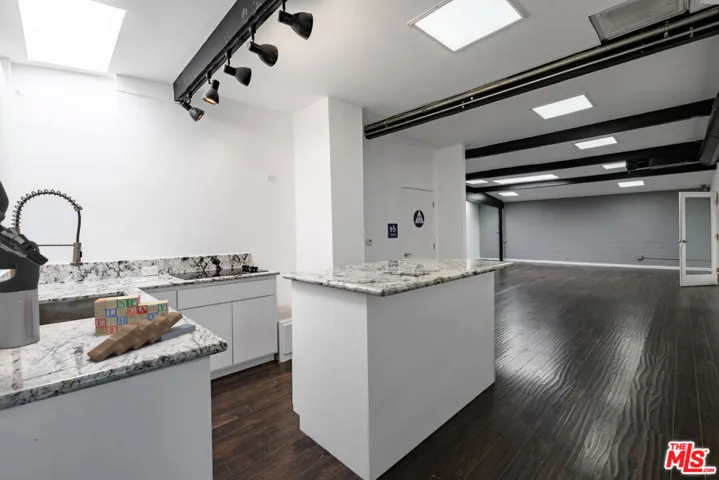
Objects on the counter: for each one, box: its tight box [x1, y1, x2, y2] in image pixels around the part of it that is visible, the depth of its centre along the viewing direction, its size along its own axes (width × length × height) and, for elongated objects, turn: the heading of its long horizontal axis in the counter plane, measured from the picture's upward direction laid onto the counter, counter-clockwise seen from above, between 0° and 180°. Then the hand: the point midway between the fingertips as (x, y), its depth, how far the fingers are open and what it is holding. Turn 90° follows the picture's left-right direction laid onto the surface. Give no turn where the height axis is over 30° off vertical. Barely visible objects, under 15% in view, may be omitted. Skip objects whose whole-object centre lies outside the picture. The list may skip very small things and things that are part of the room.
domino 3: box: [128, 316, 170, 351], centre depth 99 cm, size 2×5×12 cm
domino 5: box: [156, 322, 197, 342], centre depth 107 cm, size 2×5×12 cm
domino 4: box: [145, 310, 184, 344], centre depth 103 cm, size 2×5×12 cm
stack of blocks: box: [93, 294, 170, 337], centre depth 114 cm, size 21×6×12 cm, turn 118°
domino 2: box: [110, 320, 156, 356], centre depth 94 cm, size 2×5×12 cm
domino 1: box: [86, 324, 141, 363], centre depth 90 cm, size 2×5×12 cm
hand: (44, 263), depth 78 cm, fingers closed
